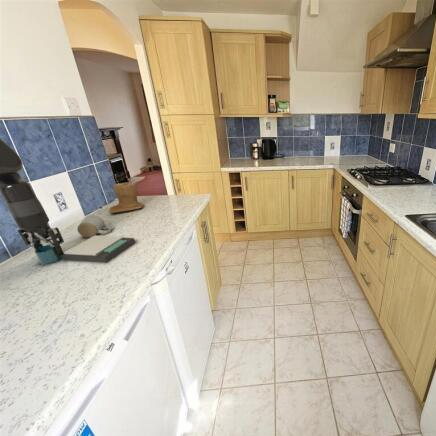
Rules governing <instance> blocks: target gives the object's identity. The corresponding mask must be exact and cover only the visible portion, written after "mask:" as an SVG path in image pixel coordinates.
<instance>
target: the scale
mask: <svg viewBox="0 0 436 436" xmlns="http://www.w3.org/2000/svg"><path fill="white" fill-rule="evenodd" d="M135 244H136V240H135V238H134V237H124V236H118V235H117V236H116V235H95V236H93V237H88V238H87V239H85V240H83V241H81V242H79V243H78V244H76V245H74V246H72V247H71V248H68V249H66V250H64V251H63V254H61V257H62V258H61V259H62V261H71V262H72V261H73V262H91V263H109V262H110V261H112V260H113V259H114V258H116V257H117V256H119V255H120V254H122V253H123V252H125V251H126V250H128V249H129V248H131V247H132V246H134V245H135Z"/></svg>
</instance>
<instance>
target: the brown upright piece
mask: <svg viewBox="0 0 436 436" xmlns="http://www.w3.org/2000/svg"><path fill="white" fill-rule="evenodd" d="M113 193H114V194H115V196H116V199H117V200H118V203H117V204H115V205H113V206H110V208H109V210H108V212H109V214H116V213H117V214H118V213H123V212H129V211H135V210H140V209H141V208H143V207H144V204H143V203H142V202H139V201H138V187H137V184H136V182H135V183H134V182H123V183H120V182H119V183H114V184H113Z"/></svg>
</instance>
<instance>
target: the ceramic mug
mask: <svg viewBox="0 0 436 436" xmlns="http://www.w3.org/2000/svg"><path fill="white" fill-rule="evenodd" d="M104 228H105V229H106V230H103V229H104ZM107 229H108V230H107ZM77 232H78V234H79V235H80V236H82V237H85V238H91V237H93V236H98V234H101V235H102V234H103V235H104V234H105V235H107V234H110V233H111V232H112V226H110V225H108V224H106V223H105V220H104V219H103V218H102V217H101V216H99V215H96V214H90V215H86V216H85V217H84V218H83V219H82V221H81V222H80V223H79V224H78V225H77Z"/></svg>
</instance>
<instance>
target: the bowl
mask: <svg viewBox="0 0 436 436" xmlns="http://www.w3.org/2000/svg"><path fill="white" fill-rule="evenodd" d="M34 254H35V256H36V258H37V259H38V262H39V263H40V264H42V265H49V264H52V263H56V262H58V261H60V260H61V259H62V257H61V255H59V256H56V255H55V254H54V252H53V250H52V248H51V246H50V245H49V244H45V245H43V246H42V247H40V248H38V249H36V250H35V249H34Z"/></svg>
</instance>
